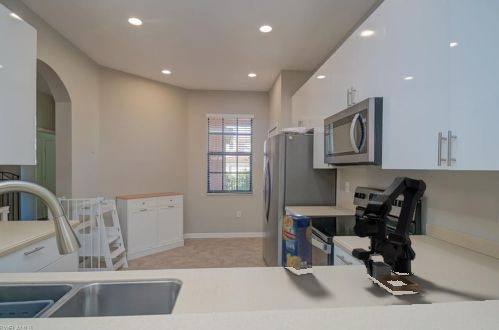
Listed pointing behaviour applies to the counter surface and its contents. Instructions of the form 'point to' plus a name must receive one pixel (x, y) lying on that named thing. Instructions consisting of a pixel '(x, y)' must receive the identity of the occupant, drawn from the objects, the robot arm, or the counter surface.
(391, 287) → the walnut crate
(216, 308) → the counter surface
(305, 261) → the blue cardboard box
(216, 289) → the counter surface
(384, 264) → the grey plastic crate
